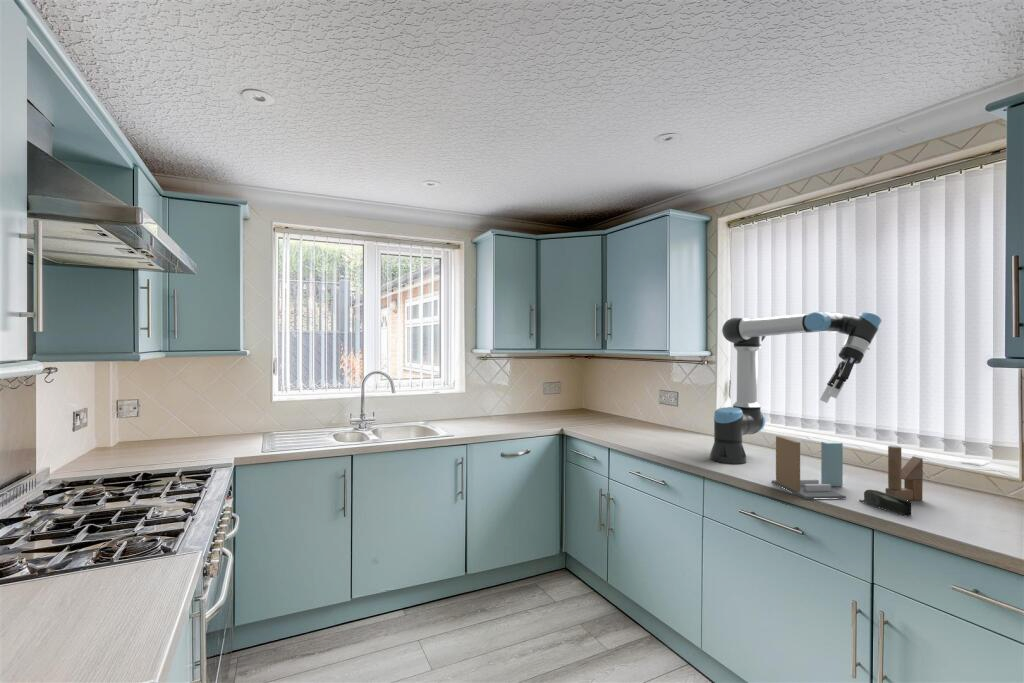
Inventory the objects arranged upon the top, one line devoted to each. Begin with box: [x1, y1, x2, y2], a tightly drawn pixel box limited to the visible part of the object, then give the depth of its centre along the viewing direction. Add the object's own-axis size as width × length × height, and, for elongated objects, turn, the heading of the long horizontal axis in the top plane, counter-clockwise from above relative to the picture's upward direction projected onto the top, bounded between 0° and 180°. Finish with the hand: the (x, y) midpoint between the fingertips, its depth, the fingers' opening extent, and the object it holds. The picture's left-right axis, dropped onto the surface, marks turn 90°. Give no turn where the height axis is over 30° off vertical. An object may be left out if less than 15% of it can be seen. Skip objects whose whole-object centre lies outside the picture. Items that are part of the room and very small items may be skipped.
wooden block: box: [885, 445, 924, 501], centre depth 168 cm, size 4×11×18 cm, turn 97°
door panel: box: [820, 441, 844, 486], centre depth 184 cm, size 3×6×16 cm, turn 93°
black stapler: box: [858, 489, 912, 517], centre depth 158 cm, size 5×3×15 cm
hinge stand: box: [771, 435, 847, 500], centre depth 177 cm, size 20×14×18 cm
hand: (827, 399), depth 188 cm, fingers open, 13 cm apart
